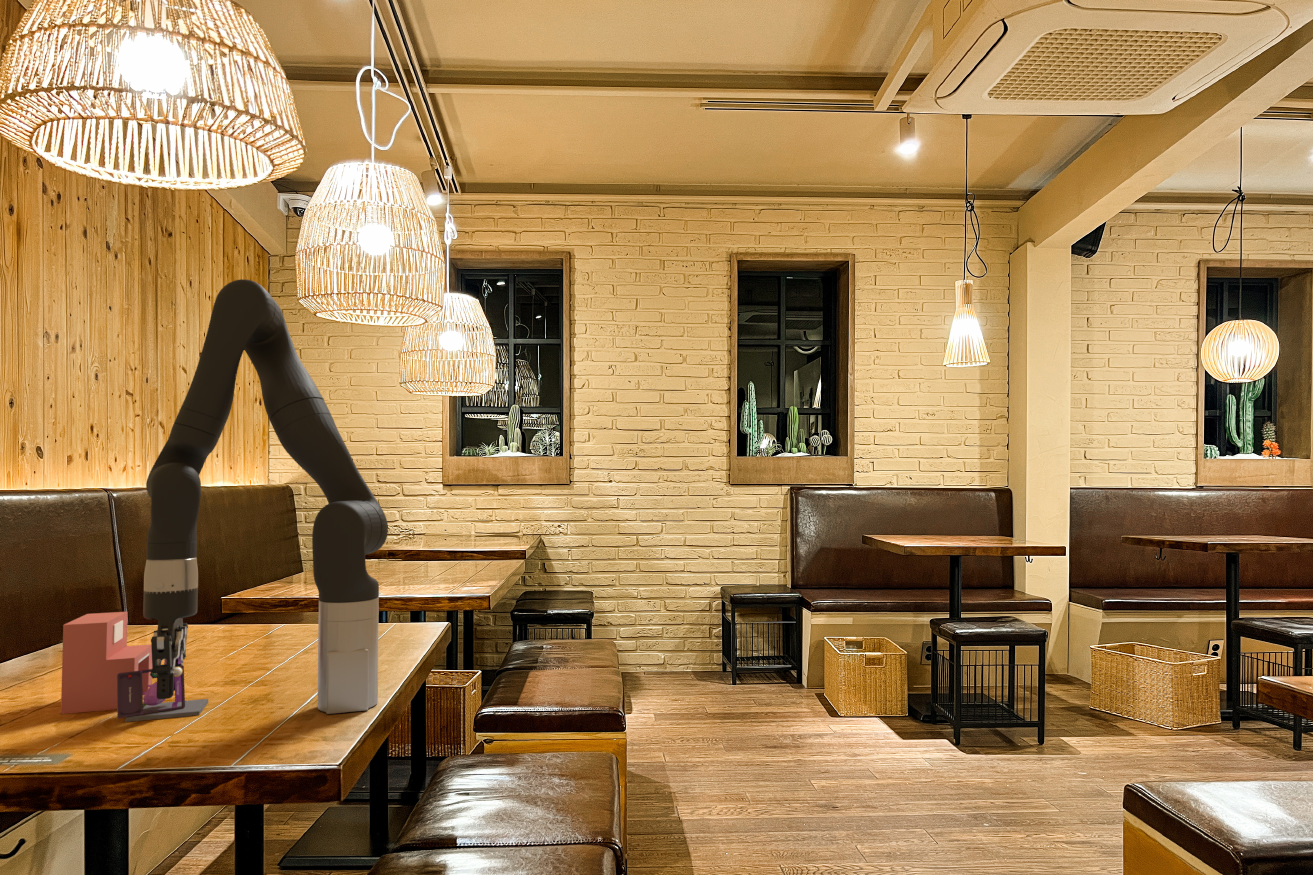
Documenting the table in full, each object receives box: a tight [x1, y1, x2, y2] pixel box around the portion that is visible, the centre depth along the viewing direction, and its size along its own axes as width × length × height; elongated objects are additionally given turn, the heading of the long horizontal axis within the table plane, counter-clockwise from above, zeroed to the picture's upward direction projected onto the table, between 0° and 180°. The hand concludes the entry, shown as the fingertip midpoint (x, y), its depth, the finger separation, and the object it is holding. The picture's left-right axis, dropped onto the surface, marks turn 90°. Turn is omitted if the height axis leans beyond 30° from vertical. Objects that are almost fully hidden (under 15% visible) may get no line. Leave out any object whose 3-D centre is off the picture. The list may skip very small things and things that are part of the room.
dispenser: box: [60, 611, 153, 715], centre depth 138 cm, size 12×10×14 cm
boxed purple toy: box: [116, 665, 186, 719], centre depth 130 cm, size 7×5×9 cm
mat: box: [124, 698, 209, 723], centre depth 131 cm, size 8×10×1 cm
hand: (169, 693), depth 131 cm, fingers open, 4 cm apart
